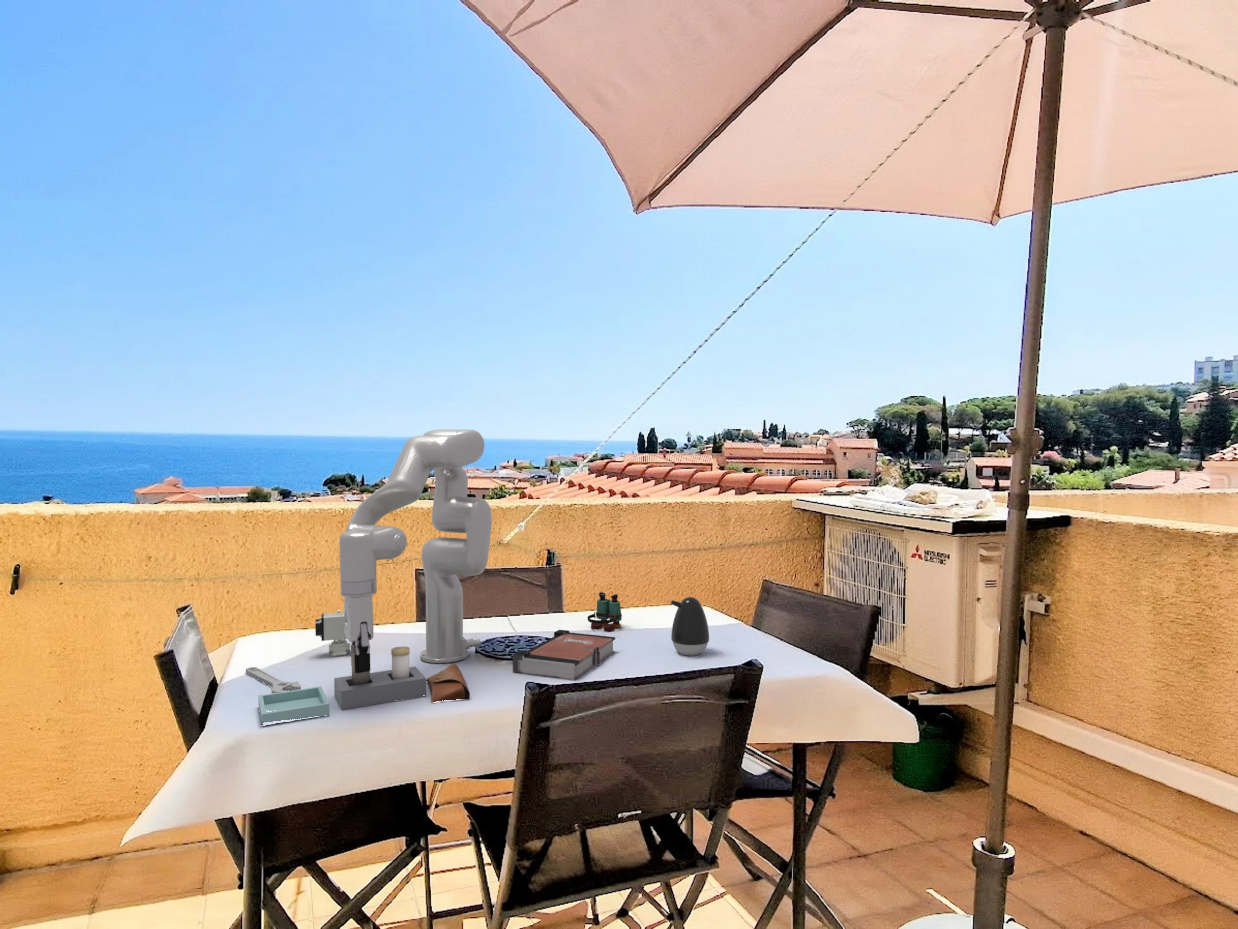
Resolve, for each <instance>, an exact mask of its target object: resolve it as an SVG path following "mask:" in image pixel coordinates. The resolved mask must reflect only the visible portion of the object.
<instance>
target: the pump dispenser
mask: <svg viewBox="0 0 1238 929" xmlns="http://www.w3.org/2000/svg"><path fill="white" fill-rule="evenodd" d="M670 604H671V605H673V606H675V607H677V610H676V612H675V615H674V618H673V622H672V626H671V634H670V636H671V638H670V639H671V641H672V645H673V648H674V649H675V650H676V652H678V653H679V654H681V655H684V656H690V657H692V656H693V657H694V656H699V655H701V654H702V653H703V652H705V650H706V649H707V647H708V643H709V642H710V631H709V625H708V620H707V617H706V616H707V615H706V613H705V610H704V607H703V606H702V603H701V602H700V601H699V599H697V598H695V597H693V596H687V597H684V598H683V599H682V601H681V602H679V601H676V600H674V599H671V601H670Z"/></svg>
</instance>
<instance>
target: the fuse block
mask: <svg viewBox="0 0 1238 929" xmlns="http://www.w3.org/2000/svg"><path fill="white" fill-rule="evenodd" d="M333 679H334V680H333V682H334V683H333V685H334V688H333V689H334V694H333V695H334V698H335V700H336V701H337V704H338V706H339V709H340V710H341V709H344V710H348V709H347V708H350V709H353V707H356V708H361V707H360V706H362V707H367V706H366V705H368V706H373V705H372V704H375V705H380V703H381V704H386V702H387V703H393V702H396V701H395V700H399V701H402V700H401V699H405V700H408V699H407V698H411V699H413V698H412V697H417V698H419V697H418V696H423V695H426V696H427V682H426V679H427V677H426V676H425V675H424V674H423V673H422V671H420V670H419V668H417V666H409V677H408V678H402V679H395V680H392V669H390V670H389V669H387V670H382V671H375V672H370V683H368V684H362V685H355V686H352V675H347V676H346V675H345V676H341V677H334V678H333ZM423 697H424V696H423ZM392 701H393V702H392Z"/></svg>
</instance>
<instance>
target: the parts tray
mask: <svg viewBox="0 0 1238 929" xmlns="http://www.w3.org/2000/svg"><path fill="white" fill-rule="evenodd" d="M257 702H258V705H259V707H258V711H259V710H260V713H259V716H260V715H261V718H260V721H261V720H262V723H264V722H265V723H266V722H273V721H281V720H290V719H291V720H292V719H300V718H301V719H302V718H308V717H314V716H324V715H329V716H330V702H329V700H328V698H327V696H326V694H325V692H324V689H323V687H322V686H321V685H320V686H314V687H306V688H301V689H299V690H293V691H291V690H289V691H286V692H279V693H272V692H271V693H267V694H260V695H258V700H257ZM266 710H267V711H268V710H269V711H272V712H266ZM274 710H276V711H274ZM324 717H325V716H324Z"/></svg>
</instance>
